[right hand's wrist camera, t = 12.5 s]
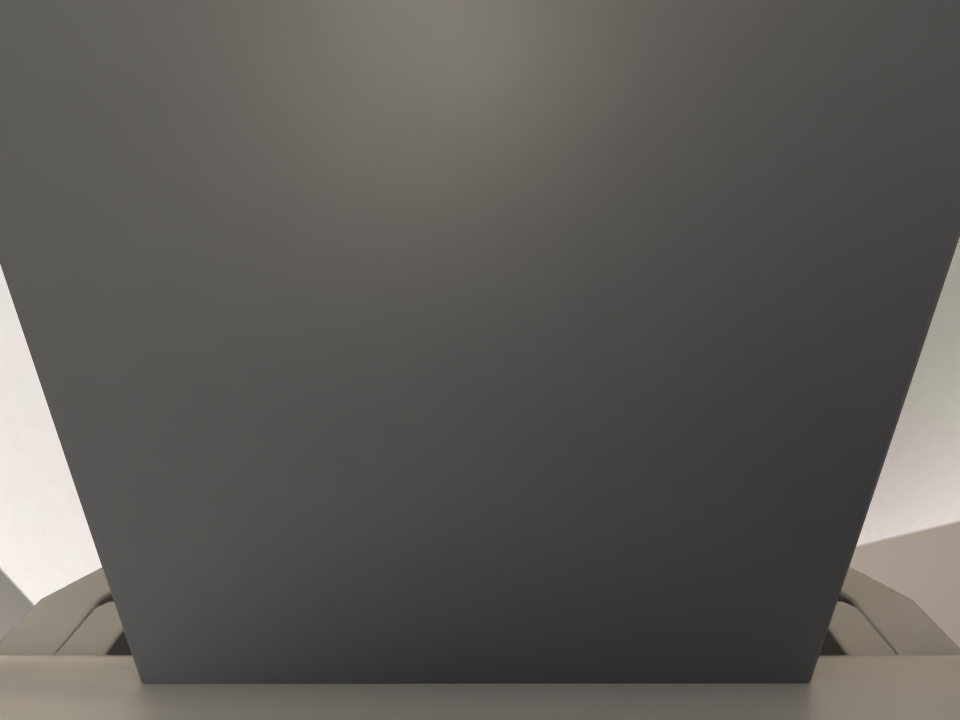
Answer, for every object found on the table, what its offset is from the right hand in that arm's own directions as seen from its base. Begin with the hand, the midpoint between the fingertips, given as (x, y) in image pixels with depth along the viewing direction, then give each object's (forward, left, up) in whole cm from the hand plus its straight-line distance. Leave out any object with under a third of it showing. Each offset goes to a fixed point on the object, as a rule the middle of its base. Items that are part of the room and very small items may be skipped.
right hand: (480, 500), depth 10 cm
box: (+5, -8, -6) cm, 11 cm away
